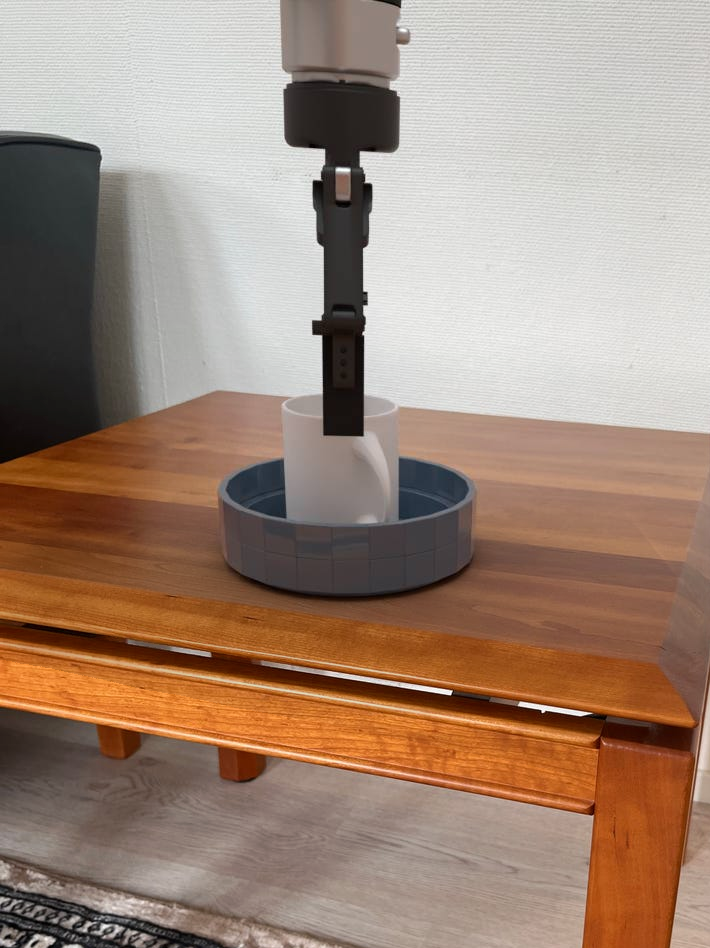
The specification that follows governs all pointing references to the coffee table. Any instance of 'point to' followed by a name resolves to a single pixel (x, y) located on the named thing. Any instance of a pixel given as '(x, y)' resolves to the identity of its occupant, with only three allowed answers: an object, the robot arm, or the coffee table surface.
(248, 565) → the bowl
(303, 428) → the mug
